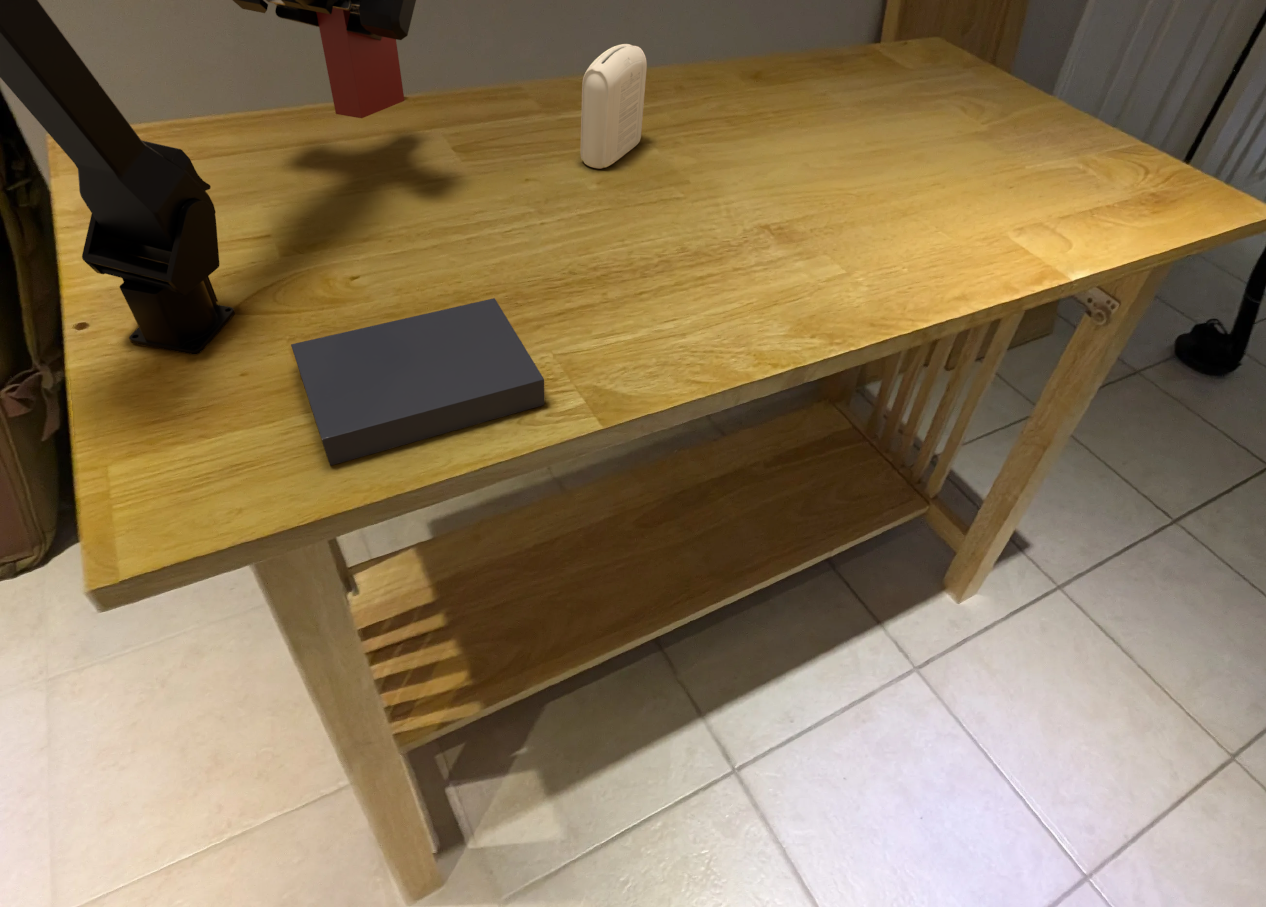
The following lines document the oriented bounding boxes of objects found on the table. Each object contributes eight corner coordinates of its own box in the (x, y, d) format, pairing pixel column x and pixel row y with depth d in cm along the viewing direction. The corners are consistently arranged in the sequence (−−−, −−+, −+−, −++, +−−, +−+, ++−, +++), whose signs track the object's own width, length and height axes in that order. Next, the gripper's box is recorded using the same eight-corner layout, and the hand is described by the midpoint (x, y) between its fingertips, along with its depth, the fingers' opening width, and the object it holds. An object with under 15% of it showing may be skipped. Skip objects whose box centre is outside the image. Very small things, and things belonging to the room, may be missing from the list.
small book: (361, 118, 86) (338, -19, 78) (335, 114, 87) (309, -22, 79) (405, 100, 92) (387, -29, 84) (380, 96, 93) (359, -32, 85)
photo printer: (616, 132, 103) (622, 31, 94) (645, 141, 102) (653, 40, 93) (575, 163, 97) (576, 58, 88) (605, 174, 96) (610, 68, 86)
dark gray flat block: (330, 466, 61) (321, 439, 59) (299, 371, 68) (290, 344, 66) (545, 404, 68) (545, 378, 66) (497, 323, 75) (495, 297, 73)
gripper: (395, -135, 68) (461, -27, 84) (206, -165, 71) (304, -56, 87) (365, -7, 69) (435, 76, 84) (178, -43, 72) (280, 44, 87)
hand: (363, 32), depth 86 cm, fingers closed on small book, 4 cm apart
